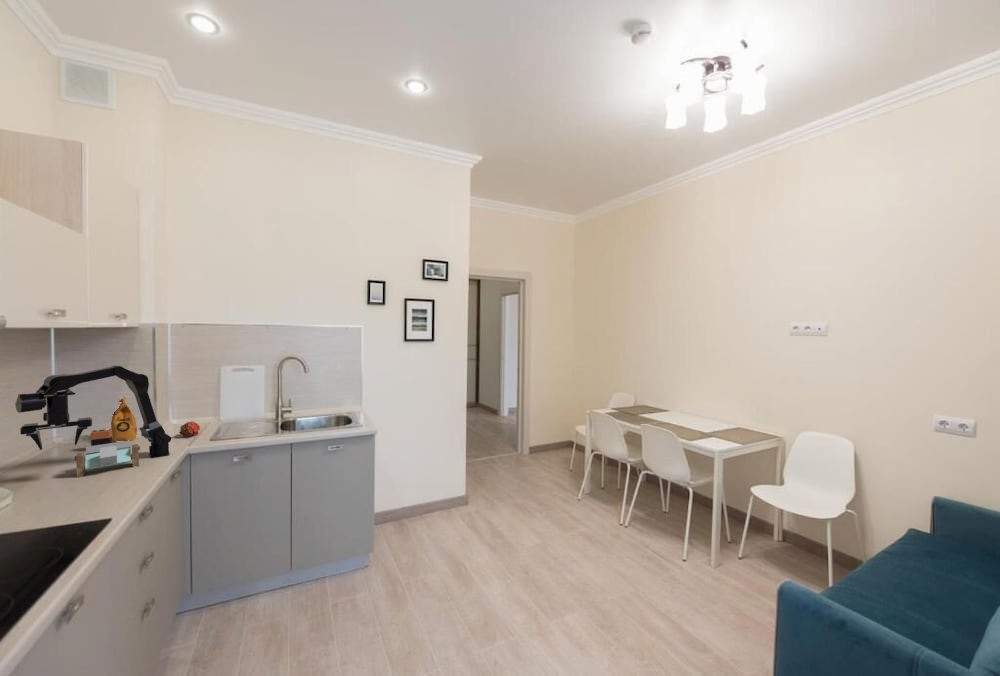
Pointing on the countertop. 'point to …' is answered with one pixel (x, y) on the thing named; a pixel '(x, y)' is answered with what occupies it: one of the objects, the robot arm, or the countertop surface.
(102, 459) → the grey cube
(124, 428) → the coffee package
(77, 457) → the trapdoor frame
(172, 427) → the countertop surface
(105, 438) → the battery
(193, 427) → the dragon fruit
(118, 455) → the trapdoor
